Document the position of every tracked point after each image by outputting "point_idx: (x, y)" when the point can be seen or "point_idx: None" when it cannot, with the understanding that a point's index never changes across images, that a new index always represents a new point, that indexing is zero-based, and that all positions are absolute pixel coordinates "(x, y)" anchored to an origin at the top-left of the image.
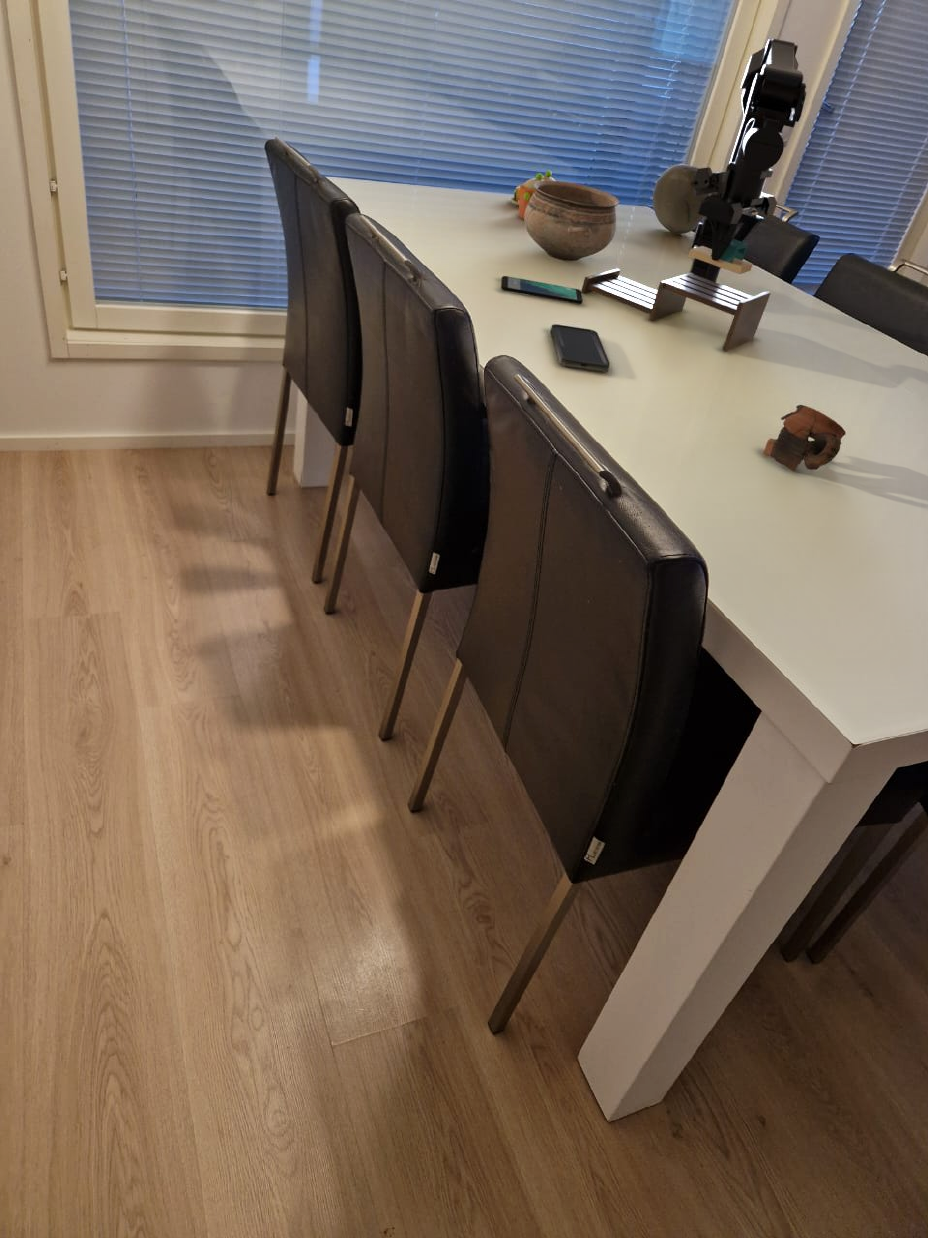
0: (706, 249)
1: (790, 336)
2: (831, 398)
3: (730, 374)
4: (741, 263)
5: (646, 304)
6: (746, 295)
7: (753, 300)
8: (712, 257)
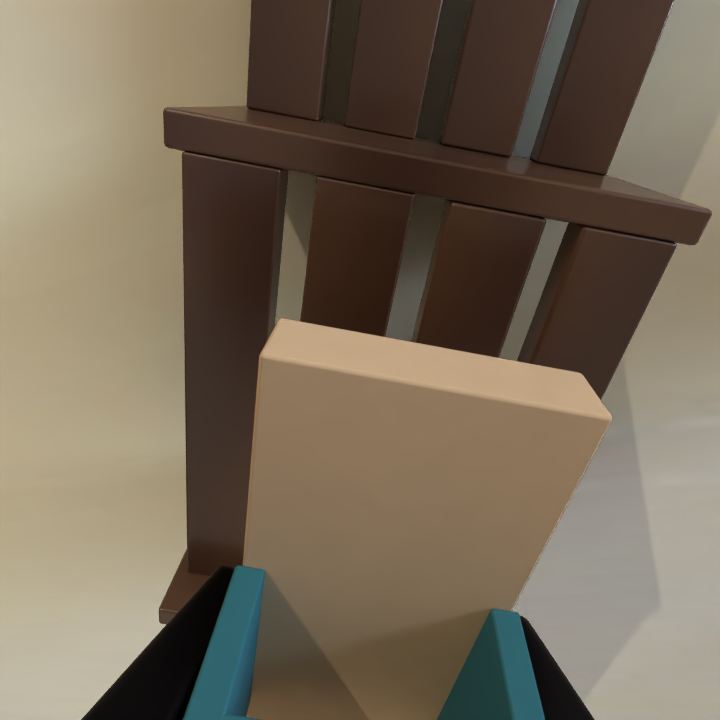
0: (469, 488)
1: (626, 576)
2: None
3: (66, 503)
4: None
5: (291, 38)
6: None
7: None
8: (205, 581)
